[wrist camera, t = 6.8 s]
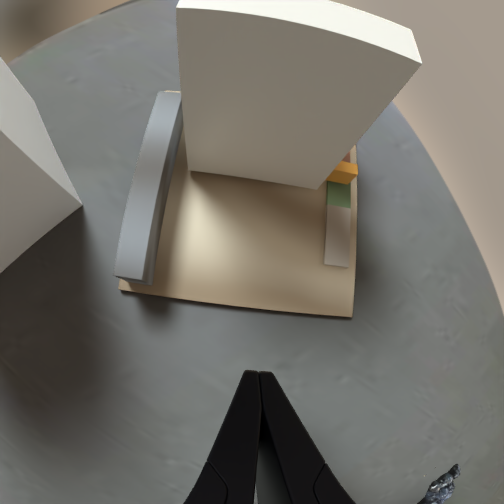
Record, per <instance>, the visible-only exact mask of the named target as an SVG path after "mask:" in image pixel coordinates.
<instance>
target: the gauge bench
mask: <svg viewBox="0 0 504 504" xmlns="http://www.w3.org/2000/svg"><path fill="white" fill-rule="evenodd" d="M341 161H344V162H349V163H353V164H356V144H355V145H354V146H353V147H352V149H351V150H350V151H349V152H348V153H347V155H346V156H345V157H344V158H343V159H342V160H341ZM356 240H357V176H356V177H355V178H354V179H353V180H352V181H351V182H350V183H349V184H348V185H347V184H342V183H337V182H332V181H327V180H325V181H324V182H323V183H322V184H321V185H320V186H319V188H318V189H317V190H315V189H309V188H304V187H298V186H292V185H287V184H281V183H275V182H269V181H262V180H256V179H249V178H243V177H236V176H229V175H222V174H214V173H206V172H199V171H190V170H188V163H187V154H186V144H185V133H184V123H183V112H182V100H181V92H180V91H167V90H165V92H164V91H159V92H158V95H157V98H156V101H155V104H154V107H153V110H152V113H151V116H150V119H149V122H148V126H147V129H146V132H145V136H144V139H143V143H142V146H141V150H140V153H139V157H138V160H137V164H136V168H135V172H134V176H133V180H132V184H131V188H130V192H129V196H128V201H127V205H126V210H125V214H124V219H123V224H122V229H121V234H120V239H119V244H118V249H117V255H116V261H115V267H114V273H113V275H114V276H116V277H118V278H120V281H119V288H118V289H119V290H125V291H131V292H137V293H144V294H150V295H157V296H163V297H170V298H177V299H184V300H191V301H199V302H206V303H214V304H222V305H230V306H239V307H247V308H256V309H265V310H275V311H285V312H295V313H306V314H317V315H329V316H342V317H352V314H353V301H354V286H355V267H356Z"/></svg>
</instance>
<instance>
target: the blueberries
mask: <svg viewBox="0 0 504 504" xmlns="http://www.w3.org/2000/svg"><path fill="white" fill-rule="evenodd" d="M435 468H436V467H435ZM459 475H460V467H459V465H458V464H455V465H454V466H453V467H452V468H451V469H450V470H449V471H448V472H447V473H445V474H443V475H442V476H440V477H439V478H438V479H437V480H436V481H434V482H432V484H431V485H430V486H429V489H428V491H427V493H426V495H425V497H424V498H423V499H422V500H421V501H420V502H418V503H417V504H443V502H444V501H445V500H447V499H448V498H450V496H451V495H452V493H453V491H454V488H455V484H454V481H453V479H455V478H457V477H458V476H459ZM424 476H425V475H424Z"/></svg>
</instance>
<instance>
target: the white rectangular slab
mask: <svg viewBox="0 0 504 504" xmlns="http://www.w3.org/2000/svg"><path fill="white" fill-rule="evenodd" d="M176 20H177V41H178V58H179V73H180V87H181V100H182V112H183V123H184V133H185V144H186V154H187V163H188V170H190V171H199V172H206V173H214V174H222V175H229V176H236V177H243V178H249V179H256V180H262V181H269V182H275V183H281V184H287V185H292V186H298V187H304V188H309V189H315V190H317V189H318V188H319V186H320V185H321V184H322V183H323V182H324V181H325V180H327V181H332V182H337V183H342V184H347V185H348V184H349V183H350V182H351V181H352V180H353V179H354V178H355V177H356V176H357V175H358V165H357V164H353V163H349V162H344V161H341V160H342V159H343V158H344V157H345V156H346V155H347V153H348V152H349V151H350V150H351V149H352V147H353V146H354V145H355V144H356V143H357V142H358V140H359V139H360V138H361V137H362V136H363V134H364V133H365V132H366V131H367V130H368V128H369V127H370V126H371V125H372V124H373V122H374V121H375V120H376V119H377V118H378V116H379V115H380V114H381V113H382V112H383V111H384V109H385V108H386V107H387V106H388V105H389V103H390V102H391V101H392V100H393V99H394V97H395V96H396V95H397V94H398V93H399V91H400V90H401V89H402V88H403V87H404V85H405V84H406V83H407V82H408V81H409V79H410V78H411V77H412V76H413V74H414V73H415V72H416V71H417V70H418V68H419V67H420V66H421V65H422V61H421V58H420V55H419V52H418V49H417V45H416V43H415V40H414V37H413V34H412V31H411V30H410V29H408V28H406V27H403V26H401V25H399V24H396V23H394V22H391V21H389V20H386V19H384V18H381V17H378V16H376V15H373V14H370V13H367V12H364V11H361V10H358V9H355V8H352V7H349V6H346V5H343V4H339V3H336V2H332V1H329V0H180V1H179V3H178V5H177V6H176Z"/></svg>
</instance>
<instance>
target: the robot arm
mask: <svg viewBox="0 0 504 504" xmlns="http://www.w3.org/2000/svg"><path fill="white" fill-rule="evenodd" d="M255 483H256V489H257V499H258V504H356V503H355V502H354V501H353V500H352V499H351V497H350V496H349V495H348V494H347V492H346V491H345V490H344V489H343V487H342V486H341V485H340V483H339V482H338V480H337V479H336V477H335V476H334V474H333V473H332V471H331V470H330V468H329V466H328V465H327V464H326V463H325V460H324V458H323V457H322V455H321V454H320V452H319V450H318V449H317V447H316V445H315V444H314V442H313V440H312V439H311V437H310V435H309V434H308V432H307V430H306V429H305V427H304V425H303V424H302V422H301V420H300V419H299V417H298V415H297V414H296V412H295V410H294V409H293V407H292V405H291V403H290V402H289V400H288V398H287V397H286V395H285V393H284V391H283V390H282V388H281V386H280V384H279V383H278V381H277V379H276V378H275V376H274V374H273V373H272V372H267V371H259V372H257V371H254V370H245V371H244V373H243V375H242V378H241V380H240V383H239V385H238V388H237V390H236V392H235V395H234V397H233V400H232V402H231V404H230V407H229V409H228V412H227V414H226V416H225V419H224V421H223V424H222V426H221V428H220V431H219V433H218V435H217V438H216V440H215V442H214V445H213V447H212V449H211V451H210V454H209V456H208V458H207V462H206V463H205V465H204V467H203V469H202V472H201V474H200V476H199V478H198V480H197V482H196V484H195V486H194V488H193V489H192V491H191V492H190V494H189V496H188V497H187V499H186V501H185V502H184V503H183V504H253V503H254V493H255Z"/></svg>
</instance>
